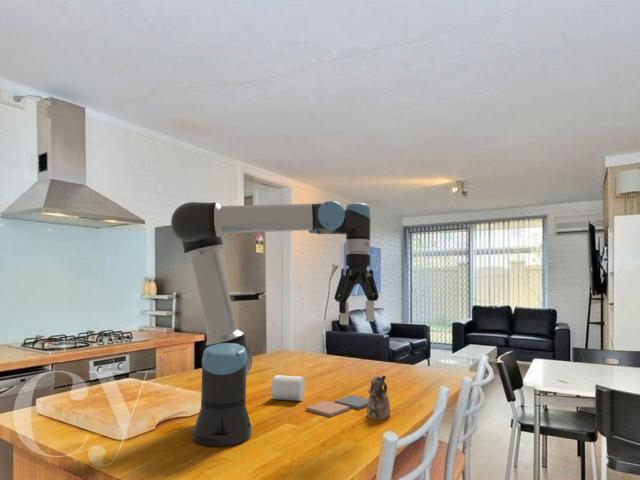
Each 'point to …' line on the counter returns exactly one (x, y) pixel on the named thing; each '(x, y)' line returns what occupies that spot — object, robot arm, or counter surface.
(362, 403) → the slate tile
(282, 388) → the white rounded block
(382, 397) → the figurine
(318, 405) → the terracotta tile
